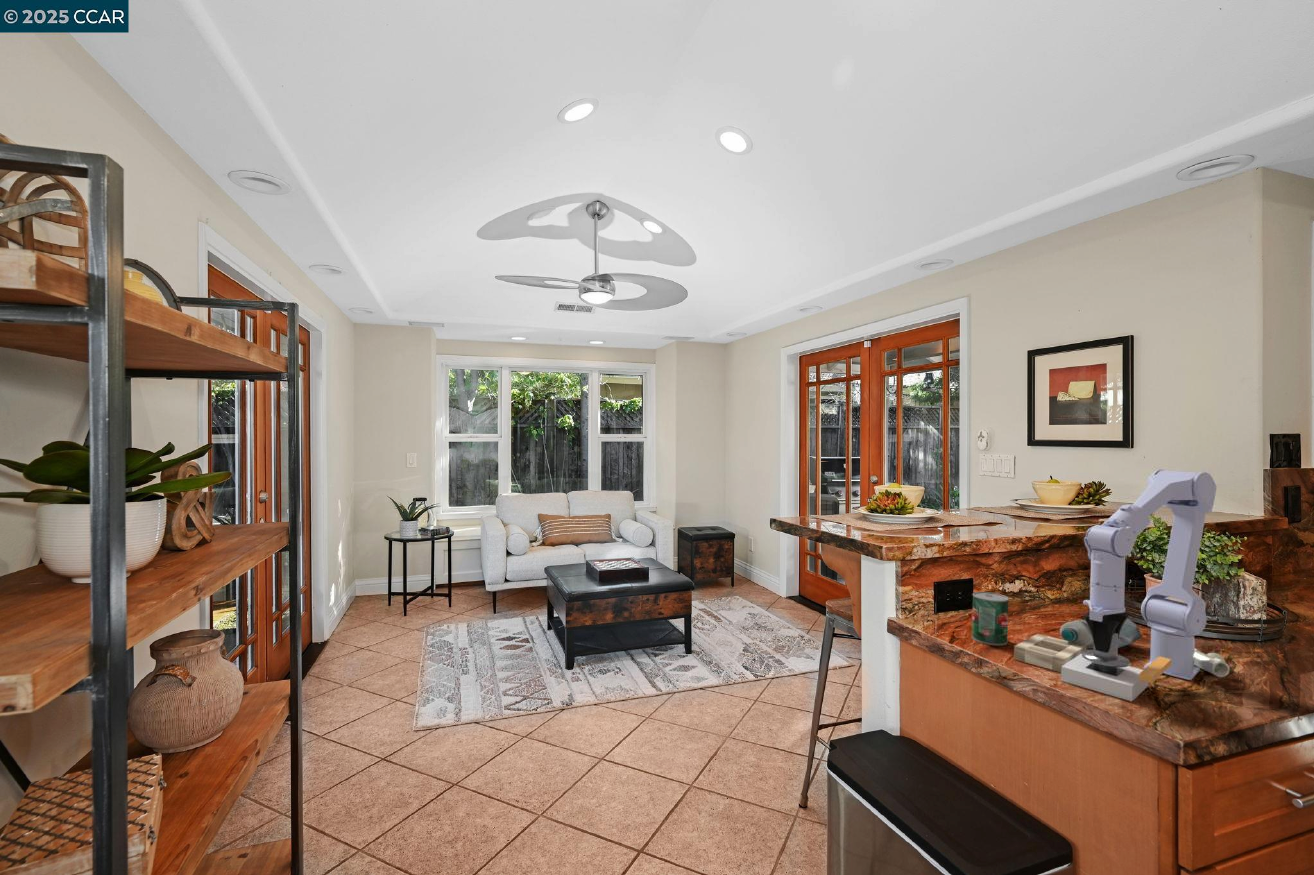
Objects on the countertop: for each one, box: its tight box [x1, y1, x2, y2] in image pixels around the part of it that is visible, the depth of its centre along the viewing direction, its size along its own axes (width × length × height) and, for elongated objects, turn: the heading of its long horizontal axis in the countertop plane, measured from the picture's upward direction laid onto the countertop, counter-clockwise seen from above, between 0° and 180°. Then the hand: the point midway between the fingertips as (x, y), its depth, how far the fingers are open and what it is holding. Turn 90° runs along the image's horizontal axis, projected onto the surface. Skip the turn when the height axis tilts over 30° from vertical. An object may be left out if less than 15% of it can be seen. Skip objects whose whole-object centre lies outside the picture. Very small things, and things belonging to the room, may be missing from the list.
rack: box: [1013, 633, 1087, 673], centre depth 139 cm, size 14×10×3 cm
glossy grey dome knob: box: [1082, 632, 1131, 676], centre depth 126 cm, size 8×8×9 cm
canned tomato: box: [971, 591, 1010, 646], centre depth 151 cm, size 8×8×11 cm
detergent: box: [1059, 617, 1143, 650], centre depth 147 cm, size 13×7×25 cm
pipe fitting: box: [1194, 648, 1230, 678], centre depth 134 cm, size 8×4×7 cm
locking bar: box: [1139, 656, 1171, 684], centre depth 122 cm, size 15×2×1 cm, turn 129°
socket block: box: [1060, 654, 1149, 702], centre depth 126 cm, size 12×12×3 cm
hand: (1105, 648), depth 126 cm, fingers closed on glossy grey dome knob, 4 cm apart
